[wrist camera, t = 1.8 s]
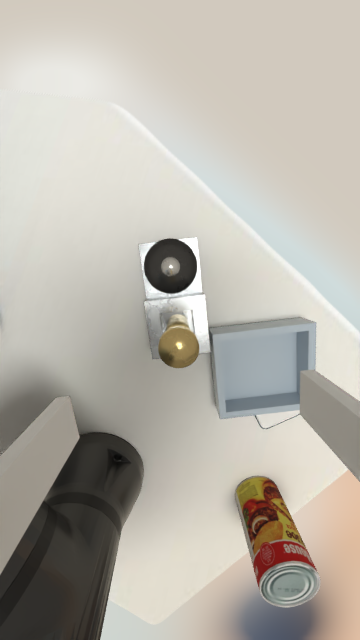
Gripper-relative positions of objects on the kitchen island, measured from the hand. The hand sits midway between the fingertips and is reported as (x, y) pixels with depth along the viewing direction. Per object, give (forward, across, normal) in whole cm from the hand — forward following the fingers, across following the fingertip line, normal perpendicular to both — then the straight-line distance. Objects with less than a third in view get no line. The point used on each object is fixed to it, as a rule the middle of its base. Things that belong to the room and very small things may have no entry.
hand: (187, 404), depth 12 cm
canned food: (+21, +10, -33) cm, 41 cm away
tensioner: (+21, 0, +4) cm, 21 cm away
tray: (+21, +11, -8) cm, 25 cm away
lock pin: (+19, 0, 0) cm, 19 cm away
